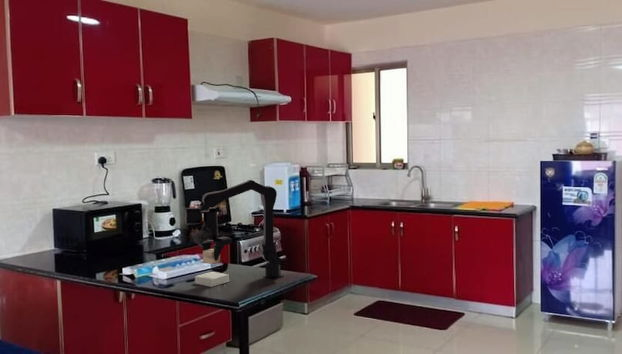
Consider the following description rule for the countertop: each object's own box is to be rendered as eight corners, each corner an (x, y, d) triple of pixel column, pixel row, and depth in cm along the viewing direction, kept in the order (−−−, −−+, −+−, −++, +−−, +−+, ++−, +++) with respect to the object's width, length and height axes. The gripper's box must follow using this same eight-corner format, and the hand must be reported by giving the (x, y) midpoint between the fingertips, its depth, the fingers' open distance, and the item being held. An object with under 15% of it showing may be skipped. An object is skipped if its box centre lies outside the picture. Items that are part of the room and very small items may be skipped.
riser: (212, 278, 250) (212, 271, 250) (229, 281, 244) (228, 274, 244) (195, 283, 242) (194, 276, 242) (211, 286, 236) (211, 279, 236)
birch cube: (212, 260, 246) (211, 248, 246) (220, 261, 243) (219, 250, 242) (203, 262, 242) (202, 250, 242) (211, 264, 239) (211, 252, 239)
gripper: (180, 223, 240) (182, 260, 242) (211, 227, 229) (212, 266, 230) (201, 220, 249) (202, 255, 250) (231, 223, 238) (232, 261, 239)
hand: (211, 259), depth 242 cm, fingers closed on birch cube, 5 cm apart
